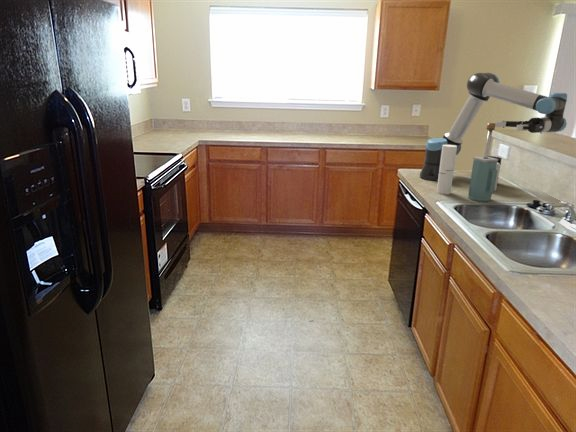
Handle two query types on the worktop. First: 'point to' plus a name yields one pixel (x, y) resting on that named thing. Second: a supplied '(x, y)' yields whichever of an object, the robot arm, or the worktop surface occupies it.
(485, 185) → the press pot
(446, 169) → the cylindrical container
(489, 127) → the plunger
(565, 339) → the worktop surface
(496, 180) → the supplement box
